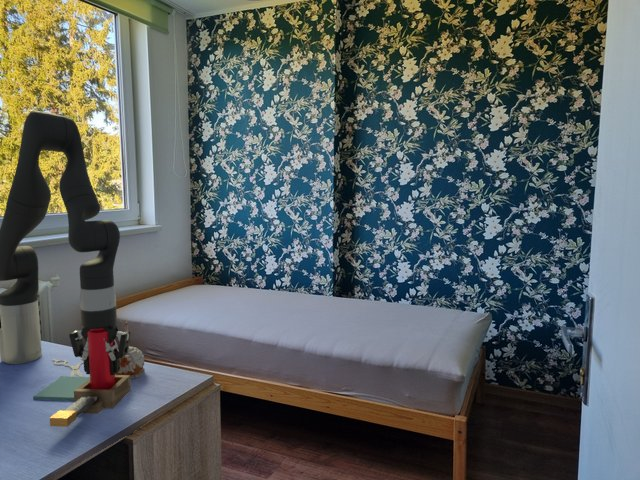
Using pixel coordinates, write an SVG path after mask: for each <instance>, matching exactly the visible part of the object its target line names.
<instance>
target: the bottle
mask: <svg viewBox="0 0 640 480" xmlns="http://www.w3.org/2000/svg"><path fill="white" fill-rule="evenodd" d="M87 338H88V356H89V372H90V374H89V377H90V389H102V390H110V389H111V388H112V387H113V386H114V385H115V384H116V383H115V375H111V366H110V361H111V358H110V356H109V353H107V352H106V348H107V347H106V342H105V341H104V339H105V340H106V341H107V342H108V332H107V331H106V330H105V329H103V328H101V329H90V330H88V332H87ZM108 343H109V342H108ZM109 345H110V347H112V346H113V342H112V343H111V344H109Z"/></svg>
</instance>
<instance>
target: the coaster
mask: <svg viewBox="0 0 640 480" xmlns="http://www.w3.org/2000/svg"><path fill="white" fill-rule="evenodd" d="M88 379H90V376H83V377H80V376H73V377H70V376H64V375H61V376H59V377H58V379H55V381H53V382H51V383H50V384H49V385H47V386H45V387H44V388H42V390H39V392H37V393H36V394H34V395H33V396H32V398H33V400H36V401H37V400H40V401H43V400H45V401H73V402H74V391H75V390H76V389H77V388H78V387H80V386H81V385H82V384H83V383H85V382H86V381H87V380H88Z"/></svg>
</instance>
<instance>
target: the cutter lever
mask: <svg viewBox="0 0 640 480" xmlns="http://www.w3.org/2000/svg"><path fill="white" fill-rule="evenodd" d="M98 399H99V397H98V396H81V398H80V399H79V400H77V401H76V402H74V403H72V404H71V405H69V406H68V407H67V408H65V409H64V410H61V409H59V410H58V411H56V413H54V414H52V415H51V416H50V417H49V426H50V427H61V428H62V427H63V428H64V427H65V428H68V427H69V426H71V425H72V424H73V423H74V422H76V420H77V418H78V417H80V416H81V415H82V414H84V413H83V412H84V411H85V410H87V409H88V408H89V407H90V406H91V405H93V404H94V402H97V401H98Z"/></svg>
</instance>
